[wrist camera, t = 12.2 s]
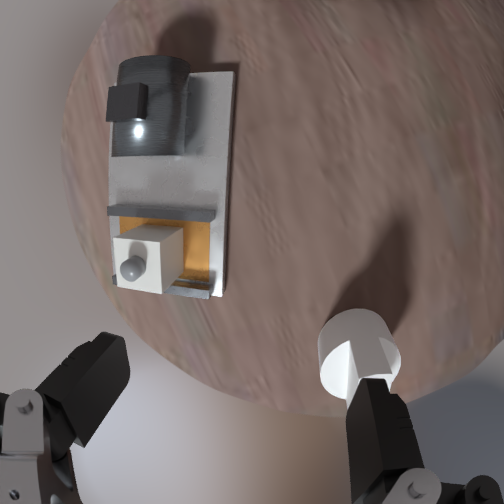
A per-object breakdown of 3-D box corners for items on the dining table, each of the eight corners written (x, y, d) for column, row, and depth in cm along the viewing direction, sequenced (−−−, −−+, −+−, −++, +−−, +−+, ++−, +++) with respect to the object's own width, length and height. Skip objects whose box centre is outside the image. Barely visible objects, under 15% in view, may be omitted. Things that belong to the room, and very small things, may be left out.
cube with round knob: (142, 224, 32) (104, 241, 25) (183, 227, 31) (152, 247, 24) (143, 266, 33) (109, 292, 26) (183, 271, 33) (155, 301, 25)
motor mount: (121, 85, 29) (67, 68, 19) (236, 75, 27) (210, 40, 18) (120, 276, 36) (73, 310, 26) (225, 291, 34) (199, 338, 25)
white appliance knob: (316, 312, 34) (323, 380, 22) (390, 304, 32) (424, 365, 21) (318, 371, 36) (321, 442, 25) (384, 364, 35) (406, 430, 23)
